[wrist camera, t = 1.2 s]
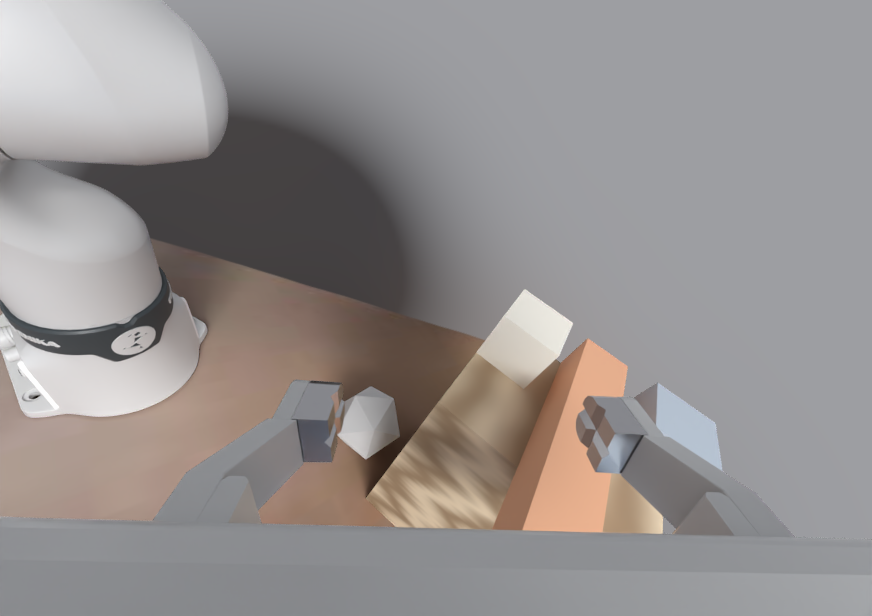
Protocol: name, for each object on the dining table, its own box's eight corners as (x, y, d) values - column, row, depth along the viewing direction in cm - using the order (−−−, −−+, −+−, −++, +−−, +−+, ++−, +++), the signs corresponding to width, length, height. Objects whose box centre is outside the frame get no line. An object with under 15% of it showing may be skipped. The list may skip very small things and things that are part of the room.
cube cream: (476, 352, 29) (504, 315, 25) (497, 324, 32) (524, 289, 29) (523, 389, 28) (559, 355, 24) (540, 355, 31) (573, 323, 28)
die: (393, 409, 51) (372, 363, 46) (418, 446, 44) (396, 396, 40) (345, 440, 48) (317, 394, 44) (364, 483, 42) (334, 435, 37)
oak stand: (365, 498, 41) (438, 401, 24) (420, 427, 50) (501, 319, 33) (480, 607, 38) (661, 586, 21) (516, 509, 47) (663, 438, 30)
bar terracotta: (461, 604, 16) (498, 598, 14) (560, 362, 32) (587, 338, 29) (527, 667, 16) (580, 675, 13) (596, 389, 31) (627, 366, 28)
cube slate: (606, 452, 26) (656, 426, 23) (613, 410, 30) (657, 382, 26) (663, 496, 25) (723, 476, 22) (663, 447, 29) (715, 423, 26)
